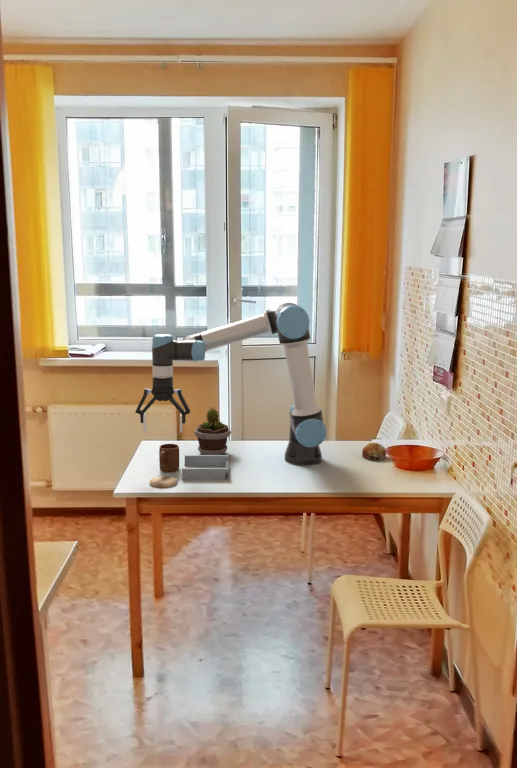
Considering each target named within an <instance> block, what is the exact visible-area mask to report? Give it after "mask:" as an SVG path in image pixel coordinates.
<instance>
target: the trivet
mask: <svg viewBox="0 0 517 768" xmlns="http://www.w3.org/2000/svg"><path fill="white" fill-rule="evenodd" d="M177 484H178V479H177V478H176V477H173V476H165V475H163V476H155V477H153V478H151V479H150V480H149V485H150V486H151V487H154V488H157V489H167V488H172V487H174V486H177Z"/></svg>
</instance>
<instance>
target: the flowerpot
mask: <svg viewBox="0 0 517 768" xmlns="http://www.w3.org/2000/svg"><path fill="white" fill-rule="evenodd" d="M205 413H206V414H205V416H206V419H205V421H203V422H202V423H201V424H199V425H198V426H197V427H196V428H195V430H194V436H195V437H197V441H198V446H197V450H198V452H200V455H225V453H226V452H227V451H228V445H227V443H228V438H229V437H230V436H231V434H232V431H231V429H230V428H229V426H228V424H225V423H223V421H221V420H220V416H219V415H220V412H218V410H217V409H216V408H214V406H211V407H209V409H208V410H207V411H206V412H205Z"/></svg>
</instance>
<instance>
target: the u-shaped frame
mask: <svg viewBox="0 0 517 768" xmlns="http://www.w3.org/2000/svg"><path fill="white" fill-rule="evenodd" d="M229 457H230V455H228V454H224V455H201V454H184V466H186V467H181V480H229V470H230V469H229V464H230V463H229V462H230V461H229V460H230V459H229ZM187 466H189V467H187ZM194 466H197V467H194ZM198 466H200V467H198ZM201 466H203V467H201ZM204 466H205V467H204ZM207 466H208V467H207ZM210 466H212V467H210ZM215 466H217V467H215ZM218 466H219V467H218ZM221 466H222V467H221Z"/></svg>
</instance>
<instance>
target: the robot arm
mask: <svg viewBox="0 0 517 768" xmlns="http://www.w3.org/2000/svg"><path fill="white" fill-rule="evenodd" d="M310 321H311V320H310V317H309V314H308V313H307V311H306V310H305V309H304V307H301V306H300V305H297V304H296V303H292V302H285V303H282V304H279V305H278V306H274V307H272V308H269V309H266V310H263V313H261V314H258V315H255V316H253V317H252V316H251V317H249V318H245V319H243V320H238V321H236V322H233V323H229V324H224V325H223V326H218V327H214V328H211V329H208V330H205V331H202V332H198V333H195V334H187V335H185V336H184V337H183V338H182V340H180V339H179V340H177V339H176V340H175V339H174V336H173V335H172V334H170V333H169V334H166V333H159V334H154V335H153V336H152V344H151V346H152V347H151V353H152V354H151V356H152V358H151V359H152V361H151V362H152V364H151V365H152V366H151V367H152V368H151V369H152V371H151V372H152V389H150V388H148V387H145V388H144V390H143V395H142V398H141V400H140V402H139V403H138V405H137V407H136V409H135V413H136V414H138V415H139V416H140V417H139V419H140V421H139V422H140V424H142V425H143V426H142V427H143V433H147V413H146V412H147V411H148V410H149V408H150V407H151V406H152V405H153V404H154V403H155V402H156V401H158V402H168V401H169V402H170V403H171V404H172V405H173V406H174V408H176V409H177V411H178V412H179V413H180V414H179V433H183V424H185V423H186V415H189V414H190V413H191V410H190V407H189V405H188V403H187V402H186V399H185V397H184V396H183V391H182V388H178V389H174V377H173V375H174V361H175V362H177V361H181V362H183V361H186V362H197V361H198V362H199V361H200V362H201V361H205V360H206V352H207V351H211V350H215V349H218V348H221V347H224V346H228V345H231V344H234V343H239V342H241V341H246V340H249V339H252V338H256V337H259V336H261V335H262V336H263V335H266V334H270V335H274V334H277V335H278V342H279V344H280V345H281V346H282V347H283V348H284V352H285V353H284V354H285V359H286V360H285V361H286V365H287V370H288V372H287V373H288V377H289V383H290V390H291V394H292V400H293V401H292V402H293V404H292V405H291V406H290V409H289V440H288V444H287V447H286V449H285V451H284V460H285V462H287V463H289V464H292V465H298V466H311V465H317V464H320V463H321V462H322V461H323V455H322V451H321V448H320V447H321V446H320V445H321V444H323V442H324V441H325V439H326V437H327V434H328V433H327V427H326V424H325V422H324V418H323V417H324V416H323V411H322V407H320V406H319V405H318V404H317V398H316V390H315V386H314V379H313V372H312V364H311V362H310V361H311V360H310V354H309V348H308V347H309V346H308V342H310V340H311V333H310ZM150 394H152V395H153V396H152V398H151V400H149V402H148V403H147V404H146V405H145V406H144V407H143V404H144V403H145V401H146V399H147V396H149V395H150ZM174 394H175V395H177V397H178V398H179V399H178V400H180V403H181V405H182V406H181V405H180V404H179V403H178V402H177V400H176V399H175V398H174V396H173V395H174ZM142 407H143V408H142ZM141 408H142V410H141ZM183 408H184V409H183Z"/></svg>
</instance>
